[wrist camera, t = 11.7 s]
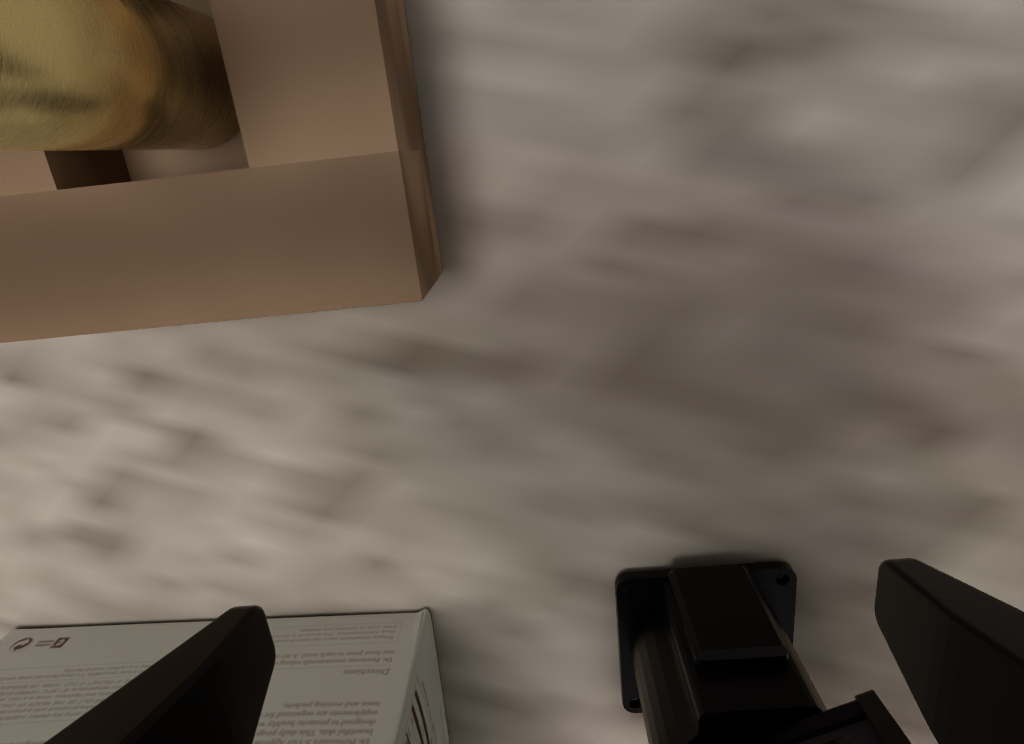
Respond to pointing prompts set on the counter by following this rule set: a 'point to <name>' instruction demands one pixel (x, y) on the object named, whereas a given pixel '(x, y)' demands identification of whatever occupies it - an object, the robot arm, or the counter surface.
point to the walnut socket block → (238, 191)
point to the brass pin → (111, 77)
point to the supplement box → (292, 689)
